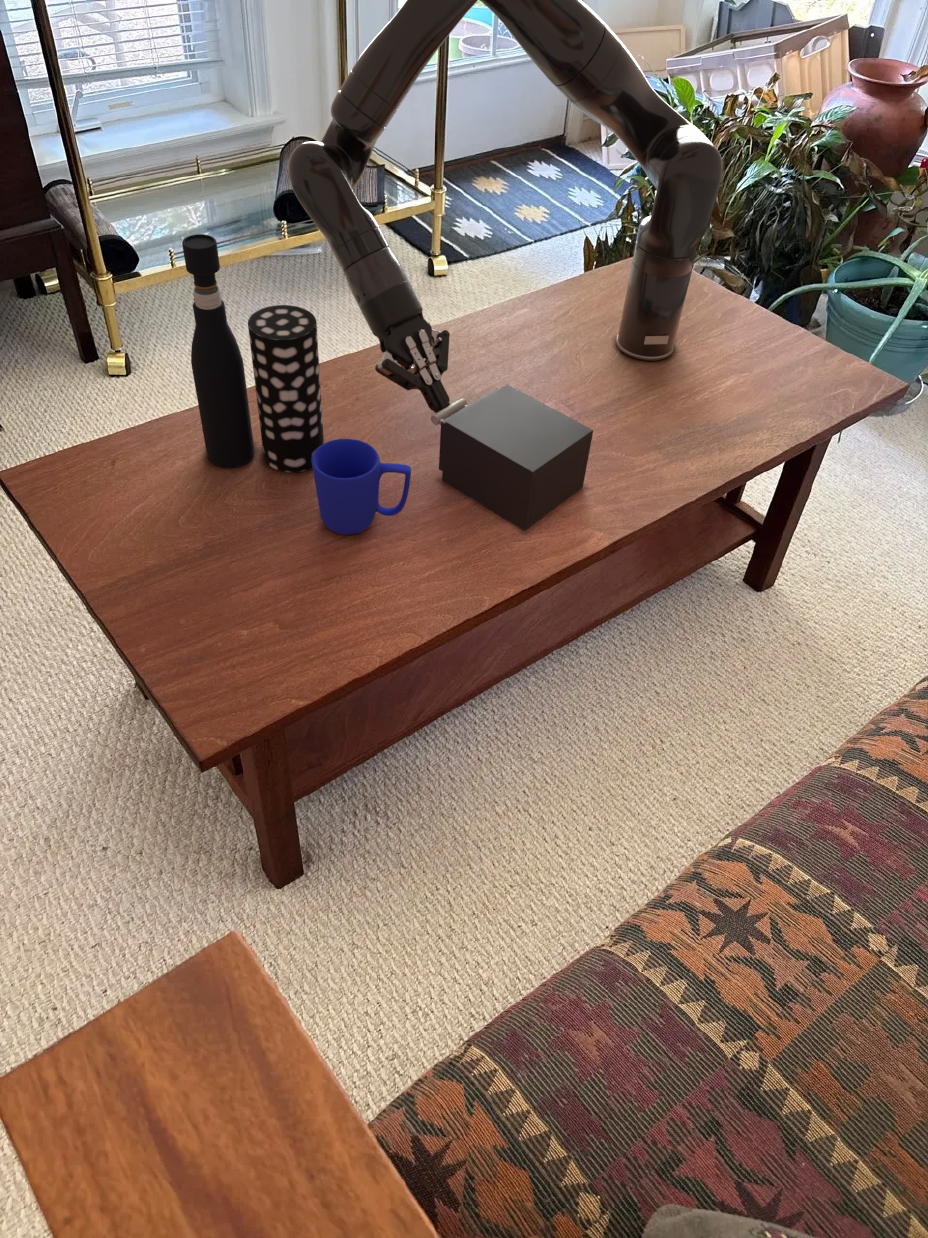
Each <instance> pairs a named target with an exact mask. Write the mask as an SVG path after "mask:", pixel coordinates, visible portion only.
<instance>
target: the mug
mask: <svg viewBox="0 0 928 1238" xmlns="http://www.w3.org/2000/svg"><path fill="white" fill-rule="evenodd" d="M311 462H312V475H313V479H314V487H315V492H316V497H317V503H318V504H317V505H318V509H319V514H320V518H321V521H322V523H323V524H324V526H325V527H326V528H327V529H329V530H330V531H331V532H333V533H336V534H340V535H346V536H347V535H348V536H349V535H357V534H359V533H362V532H364V531H365V530H367V529H368V528H369V527H370V526H371V525H372V522H373V521H374V518H375V516H376V512H377V513H378V514H380V515H382V516H385V517H392V516H397V515H398V514H399V513H400V512H402V510H403V509H404V508H405V505H406V503H407V500H408V496H409V491H410V490H409V489H410V484H411V475H412V468H411V466H410V465H408V464H404V463H395V462H393V463H392V462H381V461H380V456H379V453H378V451H377V450H376V449H375V448H374V446H372V445H371V444H369V443H367V442H365V441H363V440H359V439H354V438H337V439H332V440H329V441H327V442H324V444H322V445H321V446H319V447H318V448H317V449H316V450H315V451H314V453H313V455H312V459H311ZM387 473H396V474H403V475H404V484H403V490H402V494H401V498H400V500H399V501H398V504H396V505H395V506H393V507H385V506H382V505H381V504H380V502H379V500H380V499H379V498H380V497H379V495H380V482H381V478H382V476H383V475H384V474H387Z"/></svg>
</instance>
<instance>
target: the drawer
mask: <svg viewBox="0 0 928 1238" xmlns="http://www.w3.org/2000/svg"><path fill="white" fill-rule="evenodd" d="M498 389H500V388H499V387H496V388H494V389H493V390H491V391H488V393H486V394H485V395H483V396H481V397H479V398H477V399H475V401H473V402H471V403H469V404H468V401H467V400H466V399H465V398H463V397H462V398H460V399H457V400H456V401H454V402H453V403H450V405H449V406H448V407H446V408H444V409H443V410H441V411H439V412H438V413H434V414H432V415H431V417H430V421H431V423H432V424H433V425H435V426H438V425H440V434H439V435H440V436H439V453H438V454H439V456H438V457H439V458H438V470H439V471H441V472H443V452H444V432H445V421H447V420H449V419H450V418H452V417H454V416H455V415H457V414H459V413H460V412H462V411H464V410H465V409H467V408H469V407H470V406H472V405H474V404H475V403H477V402H479V401H480V400H482V399H483V398H485V397H487V396H488V395H490V394H492V393H493V392H495V391H497V390H498Z"/></svg>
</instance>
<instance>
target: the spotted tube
mask: <svg viewBox="0 0 928 1238" xmlns="http://www.w3.org/2000/svg"><path fill="white" fill-rule="evenodd" d="M317 324H318V323H317V319H316V316H315V315H314V314H313V313H312V312H311V311H309V310H308V309H306V308H303V307H300V306H295V305H290V304H277V305H269V306H266V307H262V308H260V309H258V310H256V311H255V312H253V313H252V314H251V315H250V316H249V318H248V319H247V329H248V336H249V337H248V338H249V345H250V354H251V361H252V370H253V371H252V372H253V380H254V386H255V395H256V403H257V412H258V419H259V420H258V421H259V429H260V436H261V444H262V452H263V454H262V455H263V459H264V461H265V463H266V464H267V465H268V466H269V467H271V468H272V469H275V470H277V471H280V472H284V473H301V472H306V471H309V470H313V468H312V462H311V459H312V455H313V453H314V451H315V450H316V449H317V448H318V447H319V446H321V445H322V444H324V443H325V437H324V422H323V407H322V406H323V405H322V389H321V373H320V359H319V358H320V357H319V342H318V341H319V339H318V325H317Z"/></svg>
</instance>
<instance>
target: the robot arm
mask: <svg viewBox="0 0 928 1238" xmlns="http://www.w3.org/2000/svg"><path fill="white" fill-rule="evenodd" d="M478 1H479V2H480V3H482V5H484V6H485V7H486V8H488V10H490V11H491V12H492V13H493V14H494V15H495V17H496V18H498V20H500V22H501V23H502V24H503V26H504V27H506V29H507V30H508V31H509V33H510V34H511V35H512V37H513V38H514V40H515V41H516V42H517V43H518V45H519V46H520V48H522V50H523V51H524V52H525V54H526V55H527V56H528V57H529V59H530V60H531V61H532V62H533V63H534V64H535V66H536V67H537V68H538V69H539V70H540V71H541V72H542V73H543V75H544V76H545V77H546V79H548V81H550V83H551V84H552V85H553V86H554V87H556V89H557V90H559V92H560V93H561V94H562V95H563V96H564V97H565V98H566V99H567V100H568V101H569V102H570V103H571V104H573V106H575V108H577V109H578V110H580V111H581V112H582V113H583V114H584V115H586V116H587V117H588V118H590V119H591V120H593V121H594V122H596V123H598V124H599V125H601V126H603V127H604V128H606V129H607V130H609V131H610V132H611V133H613V134H614V135H615V136H616V137H617V138H618V139H619V140H620V141H621V143H622V144H623V145H624V146H625V147H626V149H627V150H628V151H629V153H631V155H632V156H633V158H634V159H635V160H636V162H637V163H638V164H639V166H640V168H642V170H643V171H644V173H645V175H646V176H647V178H648V180H649V181H650V183H651V184H652V185H653V187H654V188H655V190H656V193H655V197H654V202H653V207H652V211H651V215H649V216H646V217H645V218H643V219H642V220H641V222H640V223H639V226H638V230H637V234H636V241H635V246H634V249H633V255H632V261H631V267H630V271H629V277H628V282H627V286H626V293H625V298H624V303H623V307H622V312H621V317H620V322H619V327H618V333H617V335H616V340H615V343H616V347H617V348H618V350H619V351H620V352H622V353H623V354H625V355H626V356H628V357H631V358H633V359H637V360H642V361H650V362H651V361H660V360H664V359H667V358H668V357H670V356H671V355H672V354H673V352H674V349H675V341H676V338H677V334H678V330H679V326H680V322H681V317H682V313H683V309H684V304H685V301H686V296H687V293H688V289H689V286H690V281H691V276H692V273H693V268H694V263H695V260H696V256H697V252H698V248H699V244H700V241H701V240H702V239H703V237H704V236H705V234H706V232H707V230H708V228H709V225H710V221H711V219H712V215H713V212H714V208H715V205H716V202H717V198H718V195H719V191H720V187H721V184H722V178H723V171H724V169H723V168H724V165H723V164H724V163H723V158H722V155H721V153H720V151H719V150H718V148H717V147H716V146H715V144H713V143H712V142H711V141H710V139H709V138H708V137H707V136H706V135H705V134H704V133H703V131H701V129H699V128H698V127H696V126H695V125H694V124H692V123H691V122H690V121H688V119H686V118H685V117H683V116H682V115H681V114H680V113H679V112H678V111H676V110H675V109H674V108H673V107H672V106H671V105H669V104H668V103H667V102H666V101H665V100H664V99H663V98H662V97H661V96H660V95H659V94H658V93H657V92H656V90H654V89H653V87H652V86H651V84H650V83H649V81H648V79H647V77H646V76H645V74H644V73H643V71H642V69H641V67H640V65H639V64H638V62H637V61H636V60H635V58H634V56H633V55H632V54H631V52H630V51H629V49H627V47H626V45H625V44H624V43H623V42H622V41H621V40H620V38H619V37H618V36H617V35H616V33H614V31H613V30H612V29H611V28H610V27H609V26H608V25H607V24H606V22H605V21H604V20H603V19H601V17H600V16H599V15H598V14H597V13H596V12H595V11H594V10H593V9H592V8H590V6H588V5H587V4H586V3H585V2H584V1H582V0H406V1H405V2H403V4H402V6H401V7H400V9H399V10H398V11H397V12H396V13H395V15H394V16H393V17H392V18H391V19H390V21H388V22H387V24H386V25H385V26H384V27H383V28H382V29H381V30H380V31H379V33H378V34H377V35H376V36H375V37H374V38H373V39H372V40H371V42H370V43H369V44H368V45H367V47H366V48H365V49H364V50H363V52H362V53H361V54H360V56H359V57H358V59H357V61H356V62H355V63H354V65H353V66H352V68H351V70H350V72H349V73H348V74H347V77H346V78H345V80H344V81H343V83H342V84H341V86H340V88H339V90H338V91H337V93H336V95H335V96H334V97H333V98H334V99H333V101H332V102H331V105H330V116H331V118H332V119H331V121H330V123H329V125H328V127H327V129H326V131H325V133H324V135H323V136H322V139H321V140H320V141H314V140H313V141H310V140H309V141H305V142H303V143H301V144H299V145H297V146H296V147H295V148H294V150H293V151H292V152H291V154H290V156H289V159H288V163H287V174H288V179H289V182H290V186H291V188H292V190H293V193H294V195H295V196H296V198H297V201H298V202H299V203H300V205H301V207H302V208H303V209H304V210H305V212H306V213H307V215H308V216H309V218H310V219H311V221H312V222H313V224H314V225H315V226H316V227H317V229H318V230H319V231H320V233H321V234H322V235H323V237H324V238H325V239H326V241H327V243H328V245H329V248H330V249H331V252H332V253H333V255H334V257H335V259H336V261H337V263H338V265H339V267H340V270H341V271H342V272H343V275H344V277H345V280H346V282H347V286H348V288H349V290H350V293H351V295H352V296H353V298H354V301H355V302H356V304H357V306H358V308H359V310H360V313H361V314H362V316H363V317H364V319H365V321H366V323H367V325H368V327H369V330H370V331H371V333H372V335H373V336H374V337H376V338H377V339H378V341H379V348H380V351H381V353H382V355H381V358H380V361H379V362H378V363H377V364H376V365H375V367H374V369H375V370H374V371H376V373H377V374H379V375H381V376H383V377H384V378H386V379H387V380H389V381H391V382H392V383H394V384H397V385H398V386H399V387H401V388H403V389H404V390H406V391H411V390H418V391H419V392H420V393H421V395H422V397H423V399H424V400H425V402H426V404H427V406H428V408H429V410H431V411H432V412H433V413H434V414H436V413H438V412H439V411H441V410H443V409H444V408H446V407H448V406H449V405H451V403H450V401H451V400H450V396H449V394H448V392H447V391H446V388H445V387H444V385H443V383H442V380H441V378H442V376H443V374H444V373H445V372H447V371H448V368H449V353H450V352H449V351H450V350H449V349H450V337H451V336H450V332H449V331H448V329H443V330H442V331H440V330H436V329H434V328H433V327H432V325H431V324H430V322H429V321H428V320H426V319H425V317H424V315H423V306H422V304H421V302H420V300H419V298H418V296H417V294H416V292H415V289H414V288H413V286H412V284H411V282H410V280H409V278H408V277H407V274H406V272H405V271H404V269H403V266H402V265H401V263H400V261H399V259H398V258H397V256H396V254H395V253H394V252H393V250H392V249H391V247H390V244H389V243H388V241H387V239H386V237H385V235H384V232H383V231H382V229H381V227H380V225H379V224H378V221H377V220H376V218H375V216H374V215H373V214H372V213H371V212H370V211H369V210H368V209H366V208H365V207H364V206H363V205H362V204H361V202H360V200H358V198H357V196H356V194H355V192H354V189H356V186H357V184H358V183H359V181H360V179H361V178H362V176H363V174H364V172H365V169H366V167H367V165H368V163H369V160H370V158H371V156H372V153H373V151H374V149H375V145H376V144H377V141H378V140H379V138H380V137H381V135H382V134H383V133H384V131H385V130H386V128H387V127H388V126H389V124H390V122H391V121H392V119H393V117H394V116H395V114H396V112H397V111H398V109H399V108H400V107H401V106H402V105H401V104H402V103H403V101H404V100H405V99H406V97H407V95H408V93H409V92H410V91H411V89H412V88H413V86H414V84H415V83H416V81H417V80H418V78H419V77H420V75H421V74H422V72H423V70H425V68H426V67H427V65H428V64H429V62H430V61H431V59H432V58H433V57H434V56H435V54H436V52H437V51H438V50H439V49H440V48H441V46H442V45H443V44H444V42H445V41H446V40H447V38H448V37H449V36H450V35H451V34H452V32H453V31H454V29H456V27H457V26H458V24H459V23H461V21H462V19H463V18H464V17H465V16H466V15H467V14H468V12H469V11H470V10H472V8H473V7H474V6H475V5H476V3H477V2H478Z"/></svg>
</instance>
